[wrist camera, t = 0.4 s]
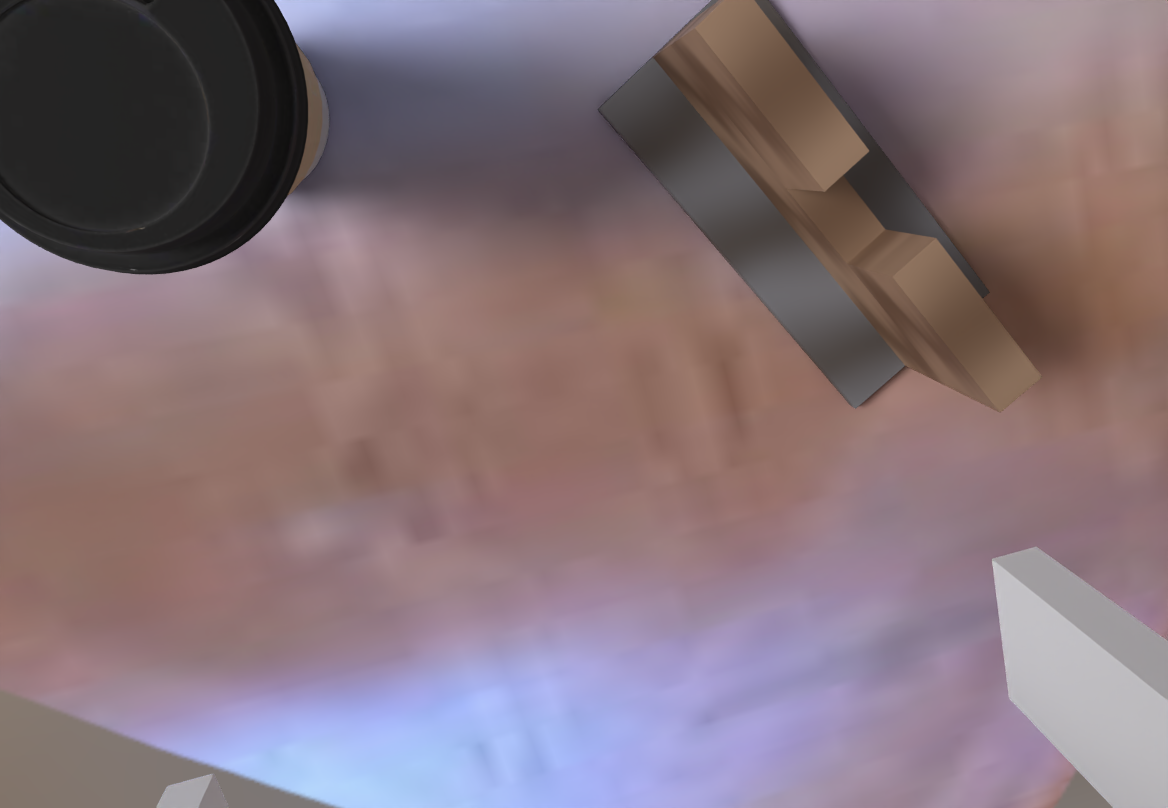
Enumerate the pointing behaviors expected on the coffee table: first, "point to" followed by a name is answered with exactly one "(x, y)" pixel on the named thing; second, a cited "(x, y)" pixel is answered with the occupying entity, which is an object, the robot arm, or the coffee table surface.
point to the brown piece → (811, 209)
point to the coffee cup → (151, 127)
